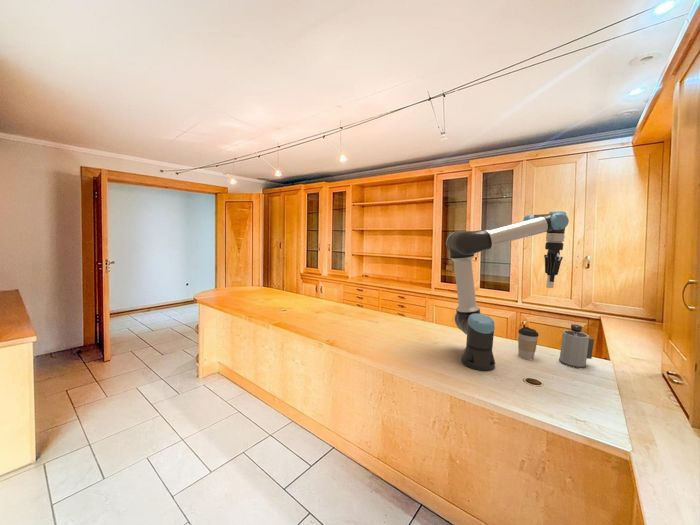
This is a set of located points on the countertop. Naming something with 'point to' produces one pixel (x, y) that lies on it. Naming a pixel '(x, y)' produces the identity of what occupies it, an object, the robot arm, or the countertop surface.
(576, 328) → the plunger
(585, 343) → the press beaker
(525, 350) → the coffee cup
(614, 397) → the countertop surface
